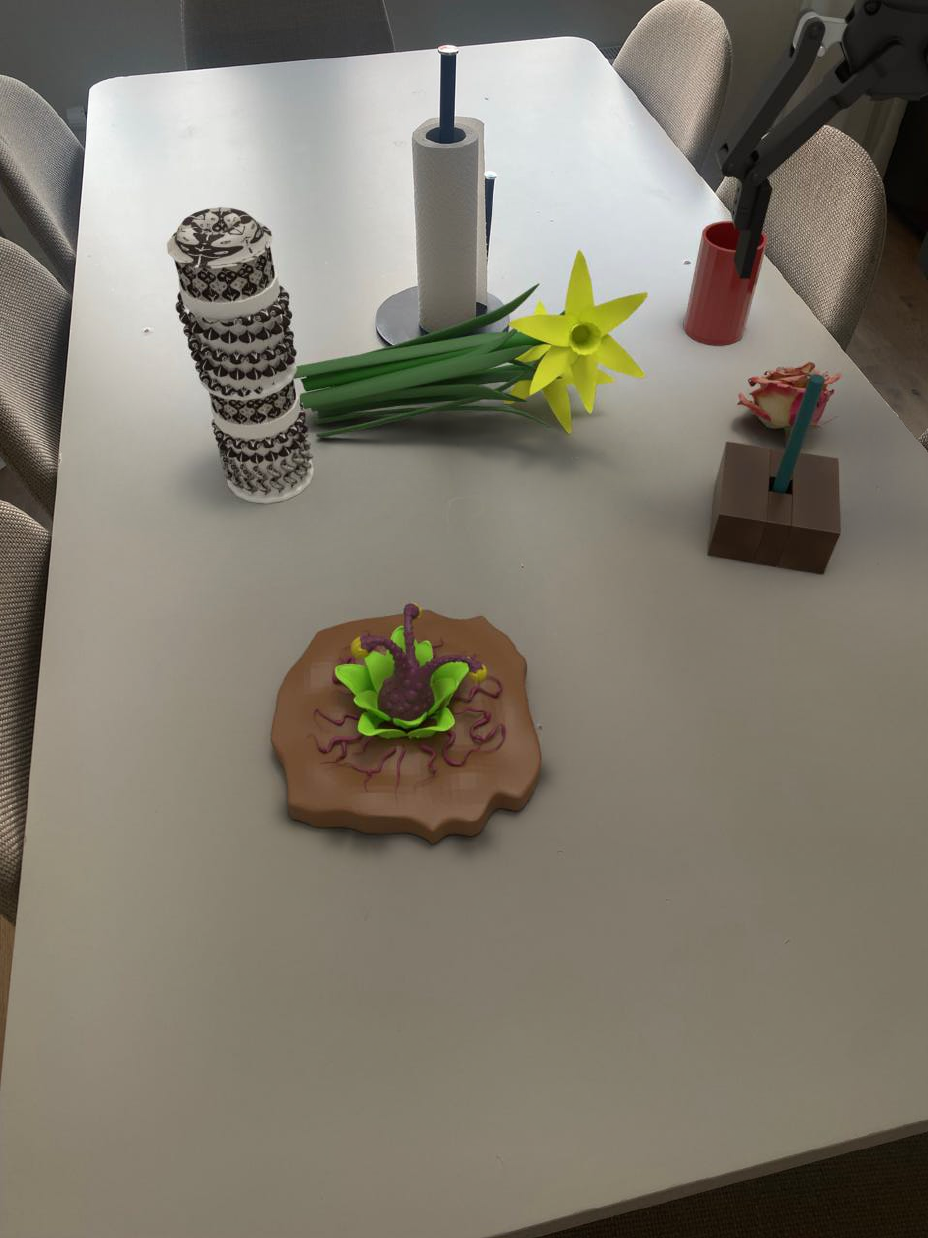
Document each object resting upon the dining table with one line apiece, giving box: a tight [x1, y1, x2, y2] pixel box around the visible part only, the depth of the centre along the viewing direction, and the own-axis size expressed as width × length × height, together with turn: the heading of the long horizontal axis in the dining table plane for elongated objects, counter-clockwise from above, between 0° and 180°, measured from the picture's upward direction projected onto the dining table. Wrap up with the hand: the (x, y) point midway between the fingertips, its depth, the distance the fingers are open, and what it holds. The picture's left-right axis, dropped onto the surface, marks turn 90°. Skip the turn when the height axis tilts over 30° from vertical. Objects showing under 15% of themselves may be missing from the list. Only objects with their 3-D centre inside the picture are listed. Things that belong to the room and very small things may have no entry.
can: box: [683, 220, 769, 346], centre depth 101 cm, size 7×7×11 cm
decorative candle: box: [166, 206, 315, 505], centre depth 79 cm, size 9×9×25 cm
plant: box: [270, 602, 542, 845], centre depth 65 cm, size 20×20×11 cm
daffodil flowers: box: [293, 249, 649, 439], centre depth 88 cm, size 17×15×35 cm
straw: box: [771, 374, 825, 494], centre depth 77 cm, size 1×1×16 cm
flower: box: [736, 361, 842, 447], centre depth 90 cm, size 10×9×8 cm
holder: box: [707, 441, 842, 575], centre depth 82 cm, size 10×10×5 cm
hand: (833, 270), depth 68 cm, fingers open, 13 cm apart
